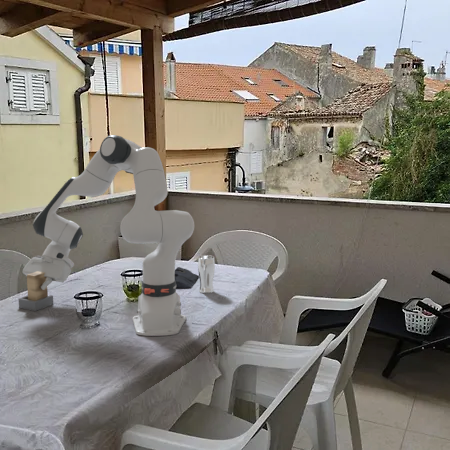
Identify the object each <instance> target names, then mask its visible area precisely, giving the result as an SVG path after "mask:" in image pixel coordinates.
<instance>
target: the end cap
mask: <svg viewBox="0 0 450 450" xmlns="http://www.w3.org/2000/svg"><path fill="white" fill-rule="evenodd" d="M53 305H54V295H52V294H50V295H48V296H47V297H45V298H42V299H39V300H36V301H33V300H28V295H26V296H23V297H20V298H18V308H20V309H24V310H28V311H35V312H37V311H39V310H42V309H45V308H47V307H50V306H53Z"/></svg>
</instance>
